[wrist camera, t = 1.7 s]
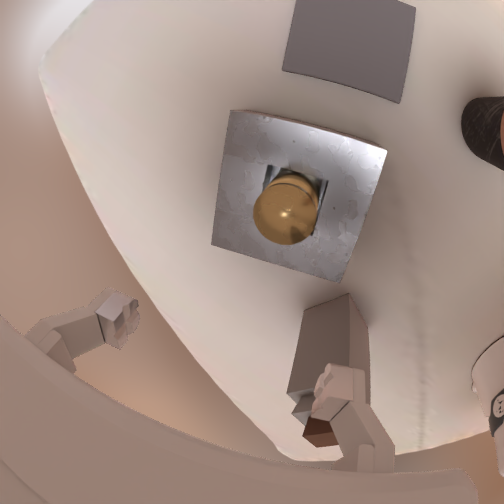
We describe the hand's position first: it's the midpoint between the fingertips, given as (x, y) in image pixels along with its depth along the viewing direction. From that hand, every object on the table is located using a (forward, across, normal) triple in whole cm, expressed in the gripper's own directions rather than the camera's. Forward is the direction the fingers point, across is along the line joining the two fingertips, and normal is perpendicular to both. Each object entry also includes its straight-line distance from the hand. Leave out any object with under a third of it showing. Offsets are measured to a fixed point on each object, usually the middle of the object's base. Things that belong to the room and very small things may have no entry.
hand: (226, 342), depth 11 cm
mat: (+22, -2, -18) cm, 29 cm away
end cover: (+21, 0, 0) cm, 21 cm away
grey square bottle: (+22, -10, +16) cm, 29 cm away
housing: (+22, 0, 0) cm, 22 cm away
